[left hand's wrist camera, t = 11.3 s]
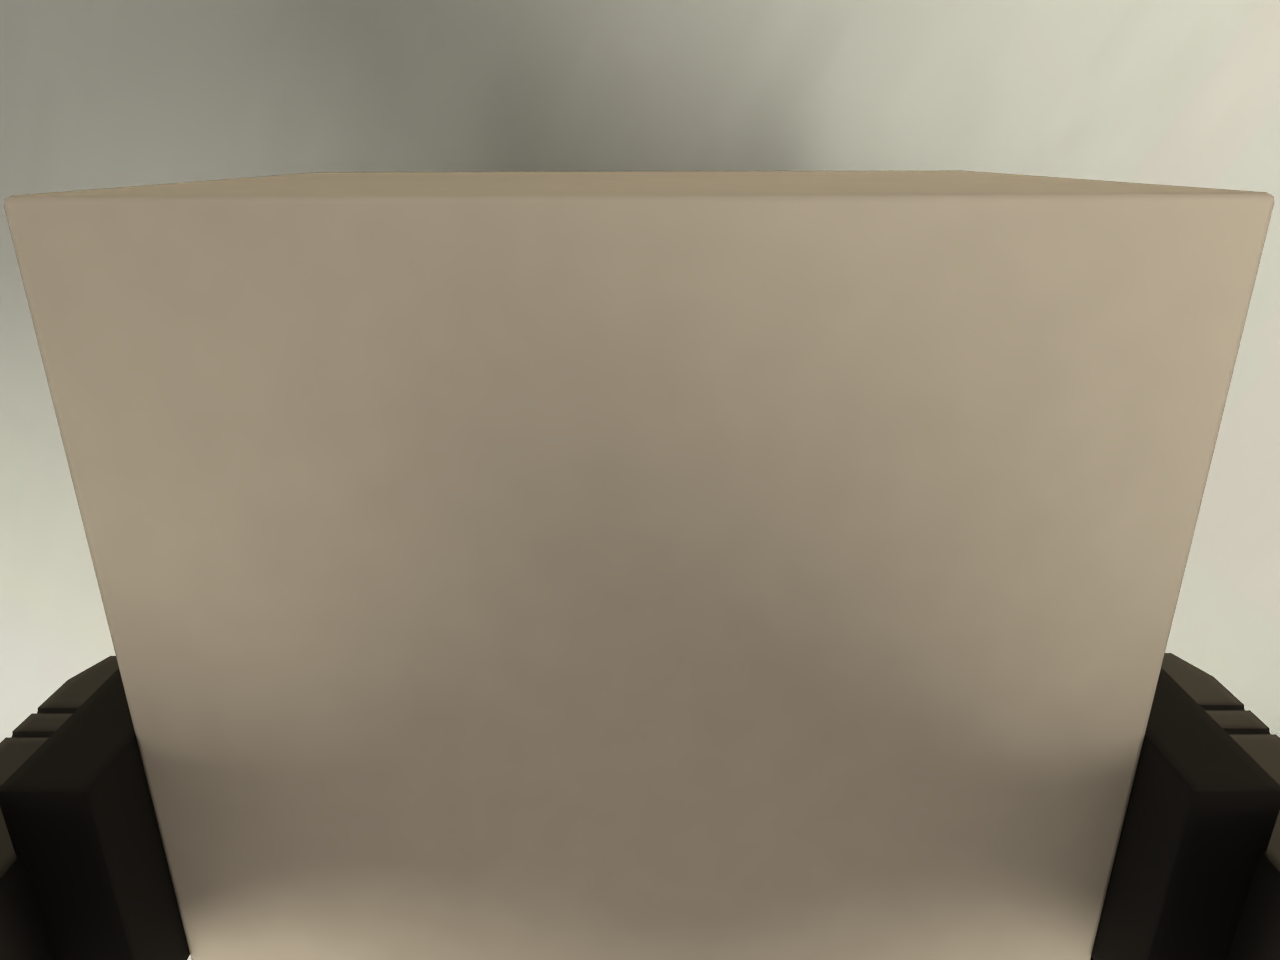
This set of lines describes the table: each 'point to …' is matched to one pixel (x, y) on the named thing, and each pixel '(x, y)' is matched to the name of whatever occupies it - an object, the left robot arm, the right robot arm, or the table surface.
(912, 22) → the table surface
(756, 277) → the thick board
